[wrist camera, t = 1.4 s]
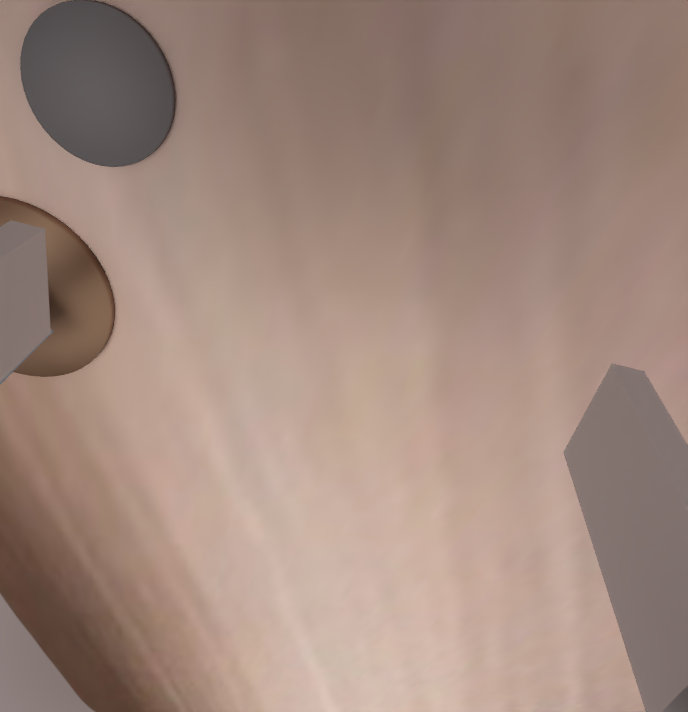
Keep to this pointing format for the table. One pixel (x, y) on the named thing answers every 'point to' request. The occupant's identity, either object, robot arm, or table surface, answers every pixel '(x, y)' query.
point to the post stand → (66, 296)
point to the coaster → (97, 83)
